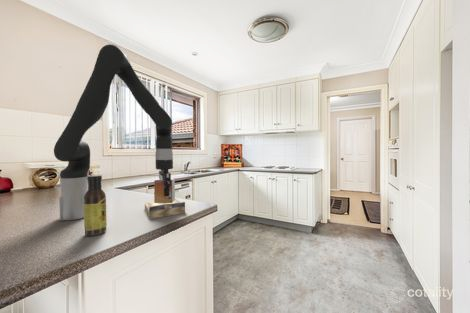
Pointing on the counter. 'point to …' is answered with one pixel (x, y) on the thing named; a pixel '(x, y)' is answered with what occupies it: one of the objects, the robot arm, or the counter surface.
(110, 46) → the robot arm
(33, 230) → the counter surface
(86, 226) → the sauce bottle
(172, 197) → the small box
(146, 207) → the brown patterned flat box
